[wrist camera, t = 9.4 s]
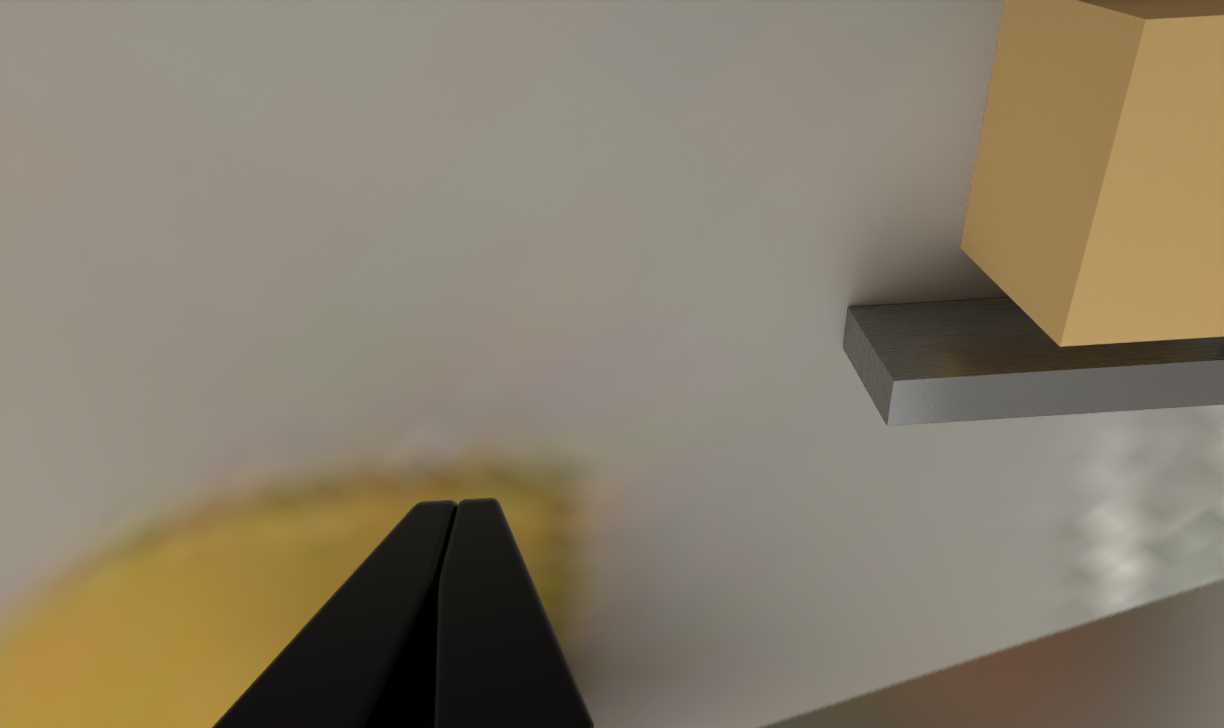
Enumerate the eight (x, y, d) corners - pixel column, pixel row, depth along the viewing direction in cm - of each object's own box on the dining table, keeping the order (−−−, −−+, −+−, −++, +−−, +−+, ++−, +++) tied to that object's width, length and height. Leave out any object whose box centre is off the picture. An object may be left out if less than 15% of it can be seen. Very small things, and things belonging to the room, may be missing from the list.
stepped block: (1198, 231, 21) (1414, 358, 16) (958, 245, 21) (1092, 379, 15) (1287, -35, 18) (1595, 10, 12) (1006, -20, 18) (1193, 32, 12)
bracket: (1274, 321, 22) (1385, 393, 19) (843, 348, 22) (887, 426, 19) (1487, -200, 16) (1695, -213, 13) (900, -169, 16) (977, -175, 13)
